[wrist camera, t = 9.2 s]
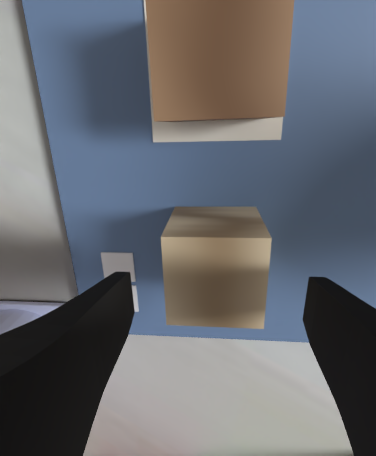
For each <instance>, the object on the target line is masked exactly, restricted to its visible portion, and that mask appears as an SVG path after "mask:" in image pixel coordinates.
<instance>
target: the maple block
mask: <svg viewBox="0 0 376 456" xmlns="http://www.w3.org/2000/svg"><path fill="white" fill-rule="evenodd" d="M271 242H272V238H271V236H270V234H269V232H268V230H267V228H266V226H265V224H264V222H263V220H262V218H261V216H260V214H259V212H258V210H257V208H256V207H175V208H174V210H173V212H172V214H171V216H170V218H169V221H168V223H167V225H166V227H165V229H164V231H163V233H162V235H161V249H162V264H163V280H164V295H165V311H166V325H178V326H202V327H227V328H251V329H264V320H265V309H266V298H267V287H268V275H269V264H270V253H271Z"/></svg>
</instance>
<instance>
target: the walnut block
mask: <svg viewBox="0 0 376 456" xmlns="http://www.w3.org/2000/svg"><path fill="white" fill-rule="evenodd" d="M145 2H146V16H147V30H148V44H149V58H150V72H151V86H152V100H153V114H154V122H187V121H215V120H242V119H265V118H276V117H285V108H286V95H287V83H288V71H289V59H290V47H291V35H292V23H293V11H294V0H145Z"/></svg>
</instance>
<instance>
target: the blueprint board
mask: <svg viewBox="0 0 376 456" xmlns="http://www.w3.org/2000/svg"><path fill="white" fill-rule="evenodd" d="M22 4H23V9H24V14H25V19H26V25H27V30H28V35H29V40H30V45H31V50H32V56H33V61H34V66H35V71H36V76H37V82H38V87H39V92H40V97H41V102H42V107H43V113H44V118H45V123H46V128H47V133H48V138H49V144H50V149H51V154H52V159H53V164H54V169H55V175H56V180H57V185H58V190H59V195H60V201H61V206H62V211H63V216H64V221H65V226H66V232H67V237H68V242H69V247H70V252H71V257H72V263H73V268H74V273H75V278H76V283H77V288H78V294H79V295H80V294H81V293H83V292H84V291H86V290H88V289H89V288H91V287H92V286H94V285H95V284H97V283H98V282H100V281H101V280H103V279H104V278H106V277H107V276H109V275H111V274H112V273H114V272H130V275H131V284H132V293H133V302H134V310H135V313H134V317H133V321H132V324H131V328H130V331H129V334H135V335H157V336H179V337H201V338H223V339H245V340H267V341H289V342H309V340H308V337H307V334H306V330H305V327H304V323H303V313H304V306H305V299H306V293H307V286H308V279H309V277H326V278H328V279H330V280H332V281H333V282H335V283H336V284H338V285H340V286H341V287H343V288H344V289H346V290H347V291H349V292H350V293H352V294H353V295H355V296H356V297H358V298H360V299H361V300H363V301H364V302H366V303H367V304H369V305H371V306H372V307H374V308H375V309H376V0H294V11H293V23H292V35H291V47H290V59H289V71H288V83H287V95H286V108H285V117H276V118H265V119H242V120H215V121H187V122H154V114H153V100H152V86H151V72H150V58H149V44H148V30H147V16H146V2H145V0H22ZM175 207H256V208H257V210H258V212H259V214H260V216H261V218H262V220H263V222H264V224H265V226H266V228H267V230H268V232H269V234H270V236H271V238H272V242H271V253H270V264H269V275H268V287H267V298H266V309H265V320H264V329H251V328H227V327H202V326H178V325H166V311H165V295H164V280H163V264H162V249H161V235H162V233H163V231H164V229H165V227H166V225H167V223H168V221H169V218H170V216H171V214H172V212H173V210H174V208H175Z"/></svg>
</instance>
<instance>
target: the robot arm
mask: <svg viewBox="0 0 376 456" xmlns="http://www.w3.org/2000/svg"><path fill="white" fill-rule="evenodd" d="M134 313H135V310H134V302H133V293H132V284H131V275H130V272H114V273H112V274H111V275H109V276H107V277H106V278H104V279H103V280H101V281H100V282H98V283H97V284H95V285H94V286H92V287H91V288H89V289H88V290H86V291H84V292H83V293H81V294H80V295H78V296H77V297H75V298H73V299H71V300H70V301H68V302H66V303H47V302H18V301H0V456H83V453H84V450H85V447H86V444H87V440H88V437H89V434H90V431H91V427H92V424H93V421H94V418H95V415H96V412H97V409H98V406H99V403H100V400H101V397H102V394H103V392H104V389H105V387H106V384H107V382H108V380H109V377H110V375H111V373H112V371H113V368H114V366H115V364H116V362H117V359H118V357H119V355H120V353H121V350H122V348H123V346H124V344H125V341H126V339H127V337H128V334H129V331H130V328H131V324H132V321H133V317H134ZM303 323H304V327H305V330H306V334H307V337H308V340H309V343H310V346H311V348H312V350H313V352H314V355H315V357H316V359H317V362H318V364H319V366H320V368H321V370H322V373H323V375H324V377H325V379H326V381H327V384H328V386H329V388H330V390H331V393H332V395H333V397H334V399H335V402H336V404H337V407H338V409H339V412H340V414H341V417H342V420H343V423H344V426H345V429H346V432H347V435H348V438H349V441H350V444H351V447H352V450H353V453H354V456H376V309H375V308H374V307H372V306H371V305H369V304H367V303H366V302H364V301H363V300H361V299H360V298H358V297H356V296H355V295H353V294H352V293H350V292H349V291H347V290H346V289H344V288H343V287H341V286H340V285H338V284H336V283H335V282H333V281H332V280H330V279H328V278H326V277H309V279H308V286H307V293H306V299H305V306H304V313H303Z"/></svg>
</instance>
